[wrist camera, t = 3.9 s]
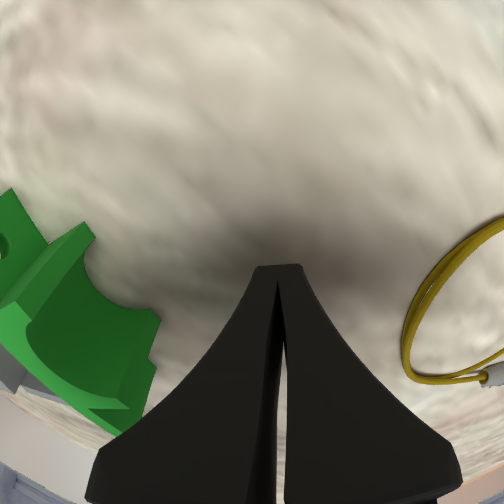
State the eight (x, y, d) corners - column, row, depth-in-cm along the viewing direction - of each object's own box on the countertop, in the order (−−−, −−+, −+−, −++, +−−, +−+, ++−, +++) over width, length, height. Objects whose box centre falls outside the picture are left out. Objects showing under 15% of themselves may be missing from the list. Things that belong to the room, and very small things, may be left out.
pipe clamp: (199, 356, 14) (181, 443, 10) (142, 366, 15) (119, 439, 11) (45, 151, 8) (-49, 215, 4) (2, 197, 9) (-68, 259, 5)
